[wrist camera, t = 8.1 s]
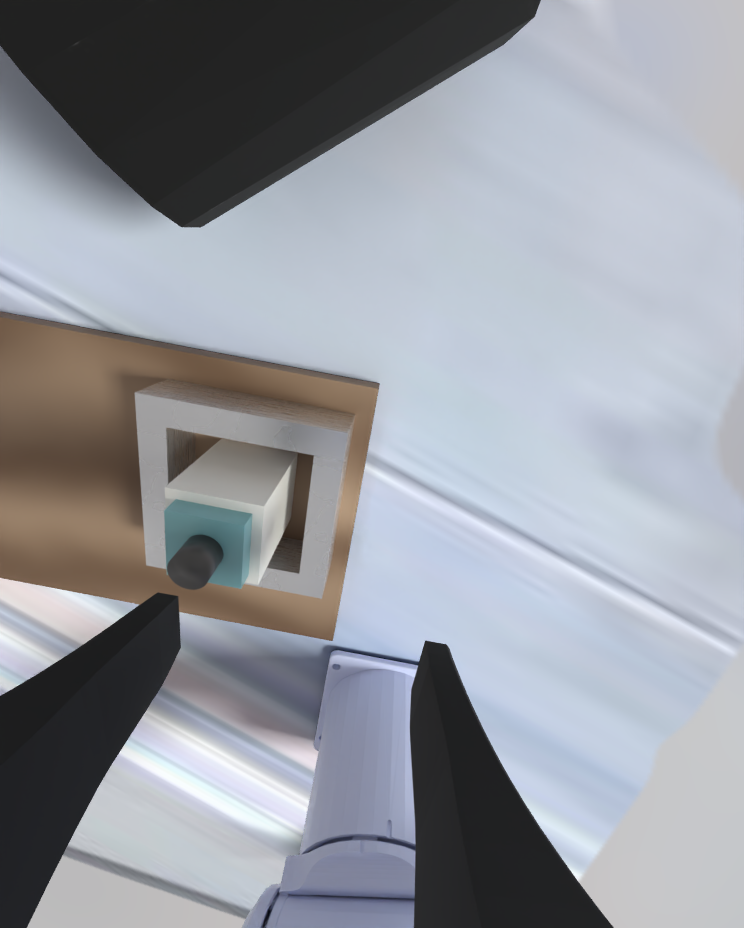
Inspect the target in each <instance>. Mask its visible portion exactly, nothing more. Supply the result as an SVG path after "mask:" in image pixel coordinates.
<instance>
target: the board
mask: <svg viewBox="0 0 744 928" xmlns="http://www.w3.org/2000/svg"><path fill="white" fill-rule="evenodd" d="M166 379H173V380H178V381H184V382H189V383H194V384H199V385H205V386H210V387H215V388H220V389H226V390H231V391H236V392H242V393H247V394H252V395H257V396H263V397H268V398H273V399H278V400H284V401H289V402H294V403H299V404H305V405H310V406H315V407H320V408H326V409H331V410H336V411H342V412H347V413H352V414H355V419H354V425H353V431H352V438H351V444H350V450H349V456H348V462H347V468H346V475H345V481H344V487H343V493H342V499H341V505H340V512H339V518H338V524H337V530H336V536H335V542H334V549H333V555H332V561H331V566H330V570H329V574H328V578H327V581H326V585H325V589H324V592H323V596H322V599H320V598H315V597H310V596H305V595H299V594H294V593H289V592H284V591H278V590H273V589H268V588H263V587H257V586H252V585H247V584H244V585H243V586H242V588H241V589H238V588H233V587H228V586H223V585H218V584H212V583H207V584H206V585H205V586H204V587H202V588H200V589H196V590H189V589H185V588H182V587H180V586H178V585H177V584H175V583H174V582H173V581H172V580H171V578H170V577H169V575H167V571H166V569H163V568H158V567H152V566H147V565H146V555H145V540H144V525H143V510H142V495H141V481H140V466H139V451H138V436H137V422H136V407H135V392H137V391H140V390H142V389H145V388H147V387H149V386H152V385H154V384H157V383H159V382H161V381H164V380H166ZM379 385H380V384H379V383H374V382H369V381H363V380H358V379H353V378H347V377H342V376H337V375H332V374H326V373H321V372H316V371H311V370H305V369H300V368H295V367H290V366H284V365H279V364H274V363H268V362H263V361H258V360H253V359H247V358H242V357H237V356H232V355H226V354H221V353H216V352H211V351H205V350H200V349H195V348H189V347H184V346H179V345H174V344H168V343H163V342H158V341H153V340H147V339H142V338H137V337H131V336H126V335H121V334H116V333H110V332H105V331H100V330H95V329H89V328H84V327H79V326H74V325H68V324H63V323H58V322H52V321H47V320H42V319H37V318H31V317H26V316H21V315H16V314H10V313H5V312H0V578H4V579H9V580H15V581H20V582H25V583H30V584H36V585H41V586H46V587H51V588H57V589H62V590H67V591H72V592H78V593H83V594H88V595H93V596H99V597H104V598H109V599H114V600H120V601H125V602H130V603H135V604H142V603H143V602H144V601H146V600H147V599H149V598H150V597H152V596H153V595H154V594H156V593H157V592H159V593H164V594H170V595H175V596H178V599H179V612H183V613H188V614H193V615H199V616H204V617H209V618H214V619H220V620H225V621H230V622H235V623H241V624H246V625H251V626H256V627H262V628H267V629H272V630H277V631H283V632H288V633H293V634H298V635H304V636H309V637H314V638H319V639H325V640H330V641H333V636H334V632H335V627H336V621H337V616H338V610H339V605H340V599H341V594H342V588H343V583H344V577H345V572H346V566H347V561H348V555H349V550H350V544H351V539H352V533H353V528H354V522H355V517H356V511H357V506H358V500H359V495H360V489H361V484H362V478H363V473H364V467H365V462H366V456H367V451H368V445H369V440H370V434H371V429H372V423H373V418H374V412H375V407H376V401H377V396H378V390H379ZM221 439H222V438H220V437H214V436H209V435H204V434H199V433H195V452H196V460H197V459H198V458H200V457H201V456H202V455H203V454H204V453H205V452H207V451H208V450H209V449H210V448H211V447H212V446H214V445H215V444H216V443H217V442H218V441H219V440H221ZM223 439H225V438H223ZM228 440H230V439H228ZM233 441H235V440H233ZM238 442H241V441H238ZM243 443H246V442H243ZM249 444H251V443H249ZM254 445H256V444H254ZM259 446H262V445H259ZM264 447H267V446H264ZM269 448H272V447H269ZM275 449H277V448H275ZM280 450H283V449H280ZM285 451H288V450H285ZM290 452H293V451H290ZM296 453H298V457H297V466H296V475H295V485H294V494H293V503H292V512H291V519H290V521H289V523H288V525H287V527H286V529H285V531H284V533H283V535H282V537H285V538H290V539H295V540H301V541H303V539H304V531H305V523H306V515H307V507H308V499H309V491H310V483H311V475H312V467H313V459H314V455H309V454H304V453H299V452H296Z"/></svg>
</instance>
